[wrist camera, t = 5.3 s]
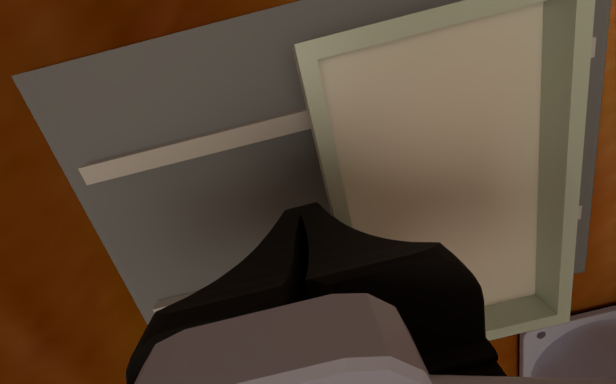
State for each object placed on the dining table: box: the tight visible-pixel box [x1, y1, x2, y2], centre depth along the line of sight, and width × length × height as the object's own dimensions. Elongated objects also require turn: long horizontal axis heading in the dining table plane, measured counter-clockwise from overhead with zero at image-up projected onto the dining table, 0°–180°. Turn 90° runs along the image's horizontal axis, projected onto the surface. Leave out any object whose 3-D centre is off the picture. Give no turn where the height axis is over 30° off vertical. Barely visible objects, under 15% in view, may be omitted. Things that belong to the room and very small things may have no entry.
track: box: [12, 0, 611, 325], centre depth 14 cm, size 22×15×2 cm
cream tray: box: [292, 0, 595, 341], centre depth 12 cm, size 8×12×3 cm, turn 13°
